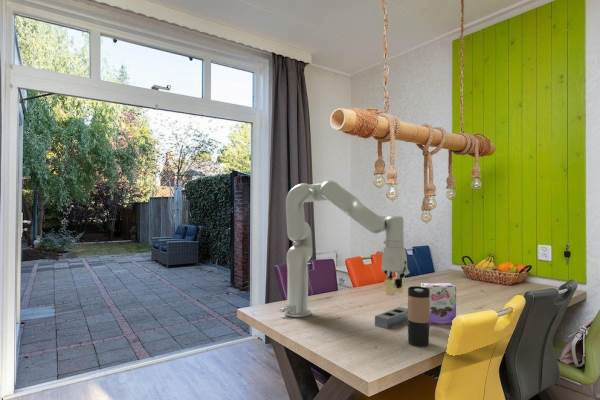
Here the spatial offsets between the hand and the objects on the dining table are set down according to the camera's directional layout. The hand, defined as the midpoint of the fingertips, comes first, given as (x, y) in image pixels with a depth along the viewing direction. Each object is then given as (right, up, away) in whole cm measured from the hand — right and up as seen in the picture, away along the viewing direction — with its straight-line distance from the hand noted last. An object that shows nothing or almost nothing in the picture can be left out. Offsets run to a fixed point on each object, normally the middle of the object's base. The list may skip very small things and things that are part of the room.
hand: (394, 286), depth 157 cm
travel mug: (+2, -15, -24) cm, 29 cm away
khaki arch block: (0, -3, 0) cm, 3 cm away
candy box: (+19, -16, +1) cm, 24 cm away
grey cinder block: (-1, -15, 0) cm, 15 cm away
